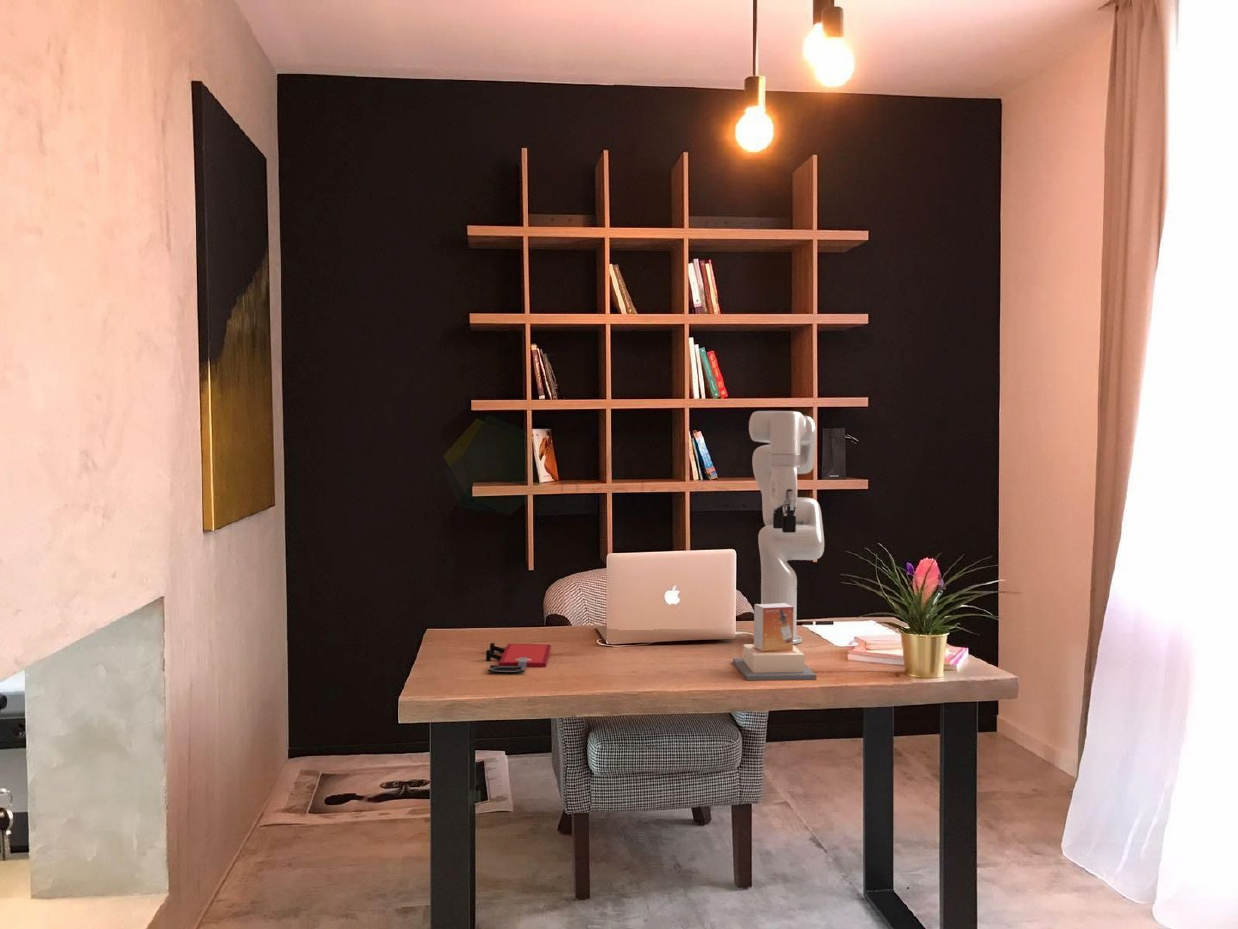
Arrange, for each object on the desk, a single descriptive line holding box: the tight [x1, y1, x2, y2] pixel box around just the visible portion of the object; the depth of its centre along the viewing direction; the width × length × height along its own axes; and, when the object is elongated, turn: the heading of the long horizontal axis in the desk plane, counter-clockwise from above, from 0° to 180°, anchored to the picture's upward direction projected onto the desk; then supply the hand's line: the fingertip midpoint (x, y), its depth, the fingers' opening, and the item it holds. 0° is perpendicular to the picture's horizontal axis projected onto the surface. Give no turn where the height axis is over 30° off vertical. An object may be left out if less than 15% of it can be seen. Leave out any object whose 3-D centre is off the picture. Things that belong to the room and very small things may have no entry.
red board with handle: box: [485, 642, 551, 673], centre depth 250 cm, size 30×3×15 cm
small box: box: [753, 603, 794, 651], centre depth 240 cm, size 8×6×10 cm
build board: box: [732, 643, 817, 681], centre depth 240 cm, size 18×16×5 cm
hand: (784, 530), depth 250 cm, fingers open, 9 cm apart
